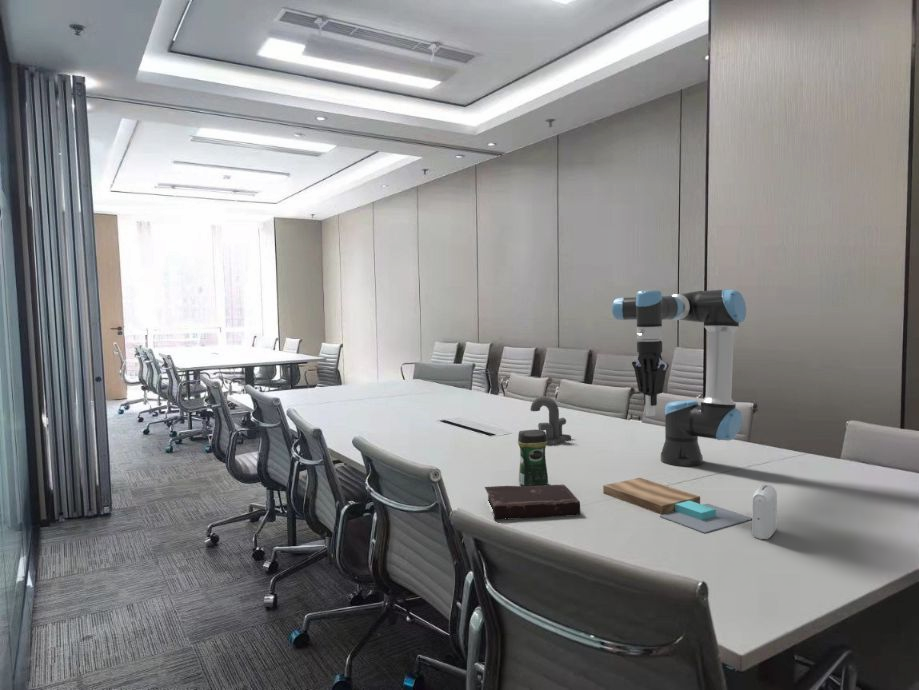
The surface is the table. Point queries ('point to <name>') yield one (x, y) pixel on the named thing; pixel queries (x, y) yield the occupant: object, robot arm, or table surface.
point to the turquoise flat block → (695, 510)
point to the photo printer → (764, 512)
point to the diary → (532, 501)
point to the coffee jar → (532, 458)
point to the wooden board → (649, 494)
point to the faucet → (551, 420)
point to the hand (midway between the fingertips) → (650, 415)
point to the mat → (708, 520)
